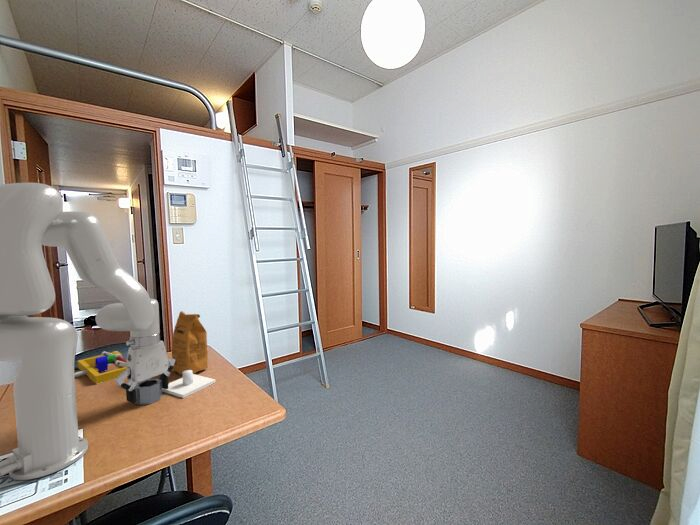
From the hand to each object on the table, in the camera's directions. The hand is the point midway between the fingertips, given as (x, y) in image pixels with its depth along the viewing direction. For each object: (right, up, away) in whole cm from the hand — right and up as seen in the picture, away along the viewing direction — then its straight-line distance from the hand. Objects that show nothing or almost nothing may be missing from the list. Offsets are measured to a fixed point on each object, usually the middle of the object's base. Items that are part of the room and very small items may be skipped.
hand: (148, 395), depth 96 cm
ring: (0, -1, 0) cm, 1 cm away
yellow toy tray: (-33, -1, +23) cm, 41 cm away
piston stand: (+8, -1, +8) cm, 11 cm away
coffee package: (+1, 0, +22) cm, 22 cm away
